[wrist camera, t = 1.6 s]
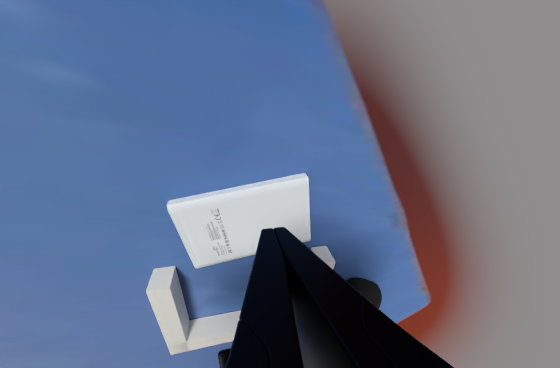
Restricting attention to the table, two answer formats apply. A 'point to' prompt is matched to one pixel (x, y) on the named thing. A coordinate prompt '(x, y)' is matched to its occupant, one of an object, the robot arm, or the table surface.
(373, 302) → the computer mouse
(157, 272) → the dock
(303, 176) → the external hard drive
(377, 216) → the table surface
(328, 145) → the table surface
